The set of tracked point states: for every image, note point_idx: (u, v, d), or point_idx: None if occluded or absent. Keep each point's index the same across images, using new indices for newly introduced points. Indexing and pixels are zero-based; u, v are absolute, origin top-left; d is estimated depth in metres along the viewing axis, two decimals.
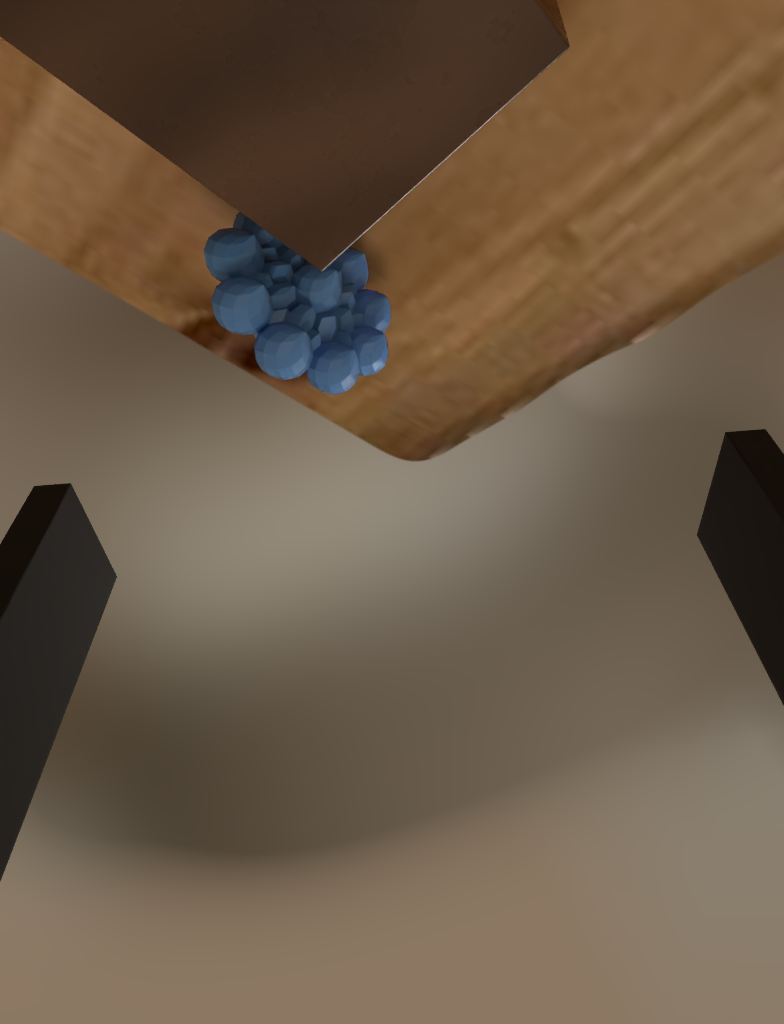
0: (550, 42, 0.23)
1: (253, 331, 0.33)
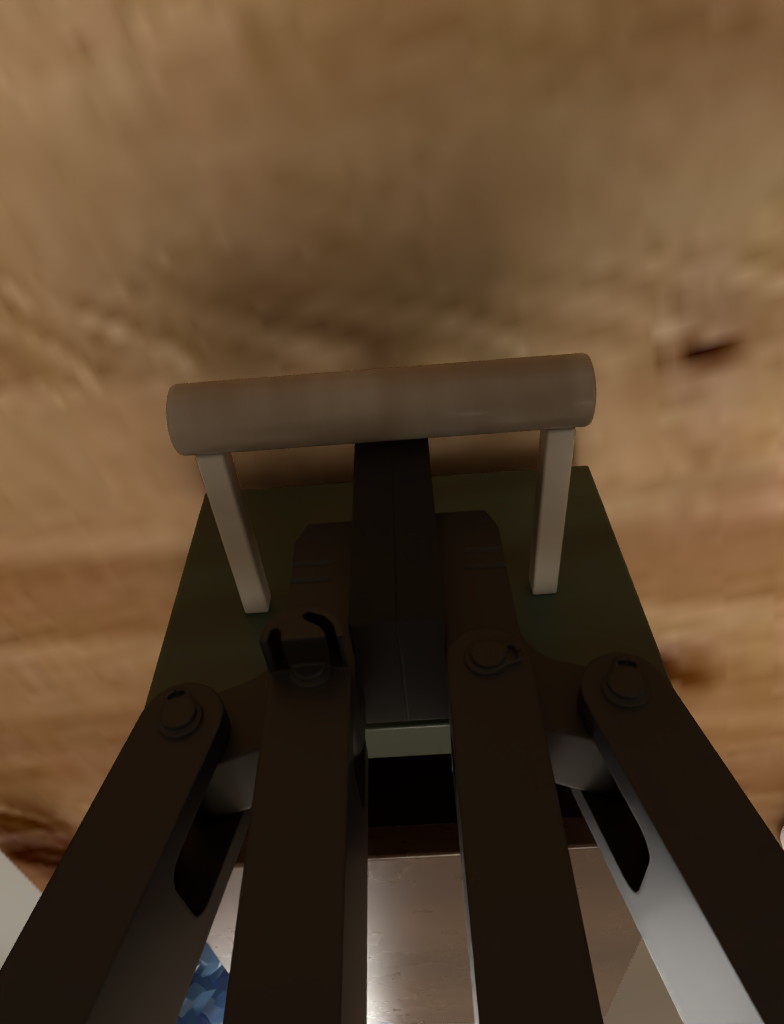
0: None
1: None
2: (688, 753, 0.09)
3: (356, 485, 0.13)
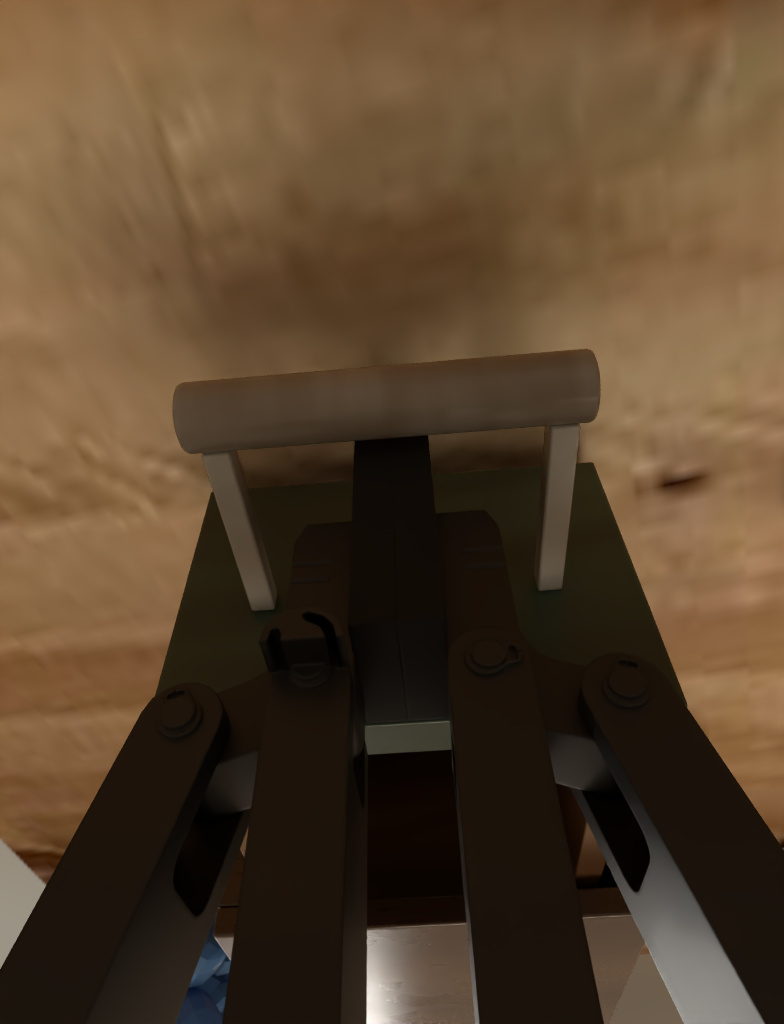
0: None
1: None
2: (688, 753, 0.09)
3: (356, 485, 0.13)
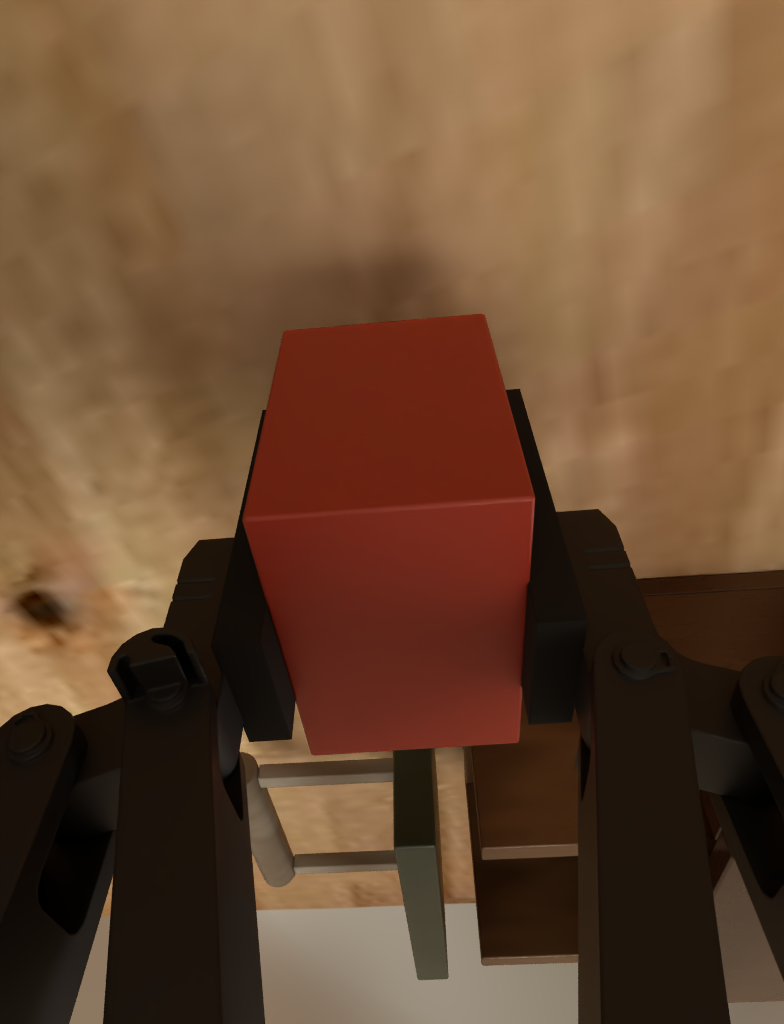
0: None
1: None
2: None
3: (245, 501, 0.13)
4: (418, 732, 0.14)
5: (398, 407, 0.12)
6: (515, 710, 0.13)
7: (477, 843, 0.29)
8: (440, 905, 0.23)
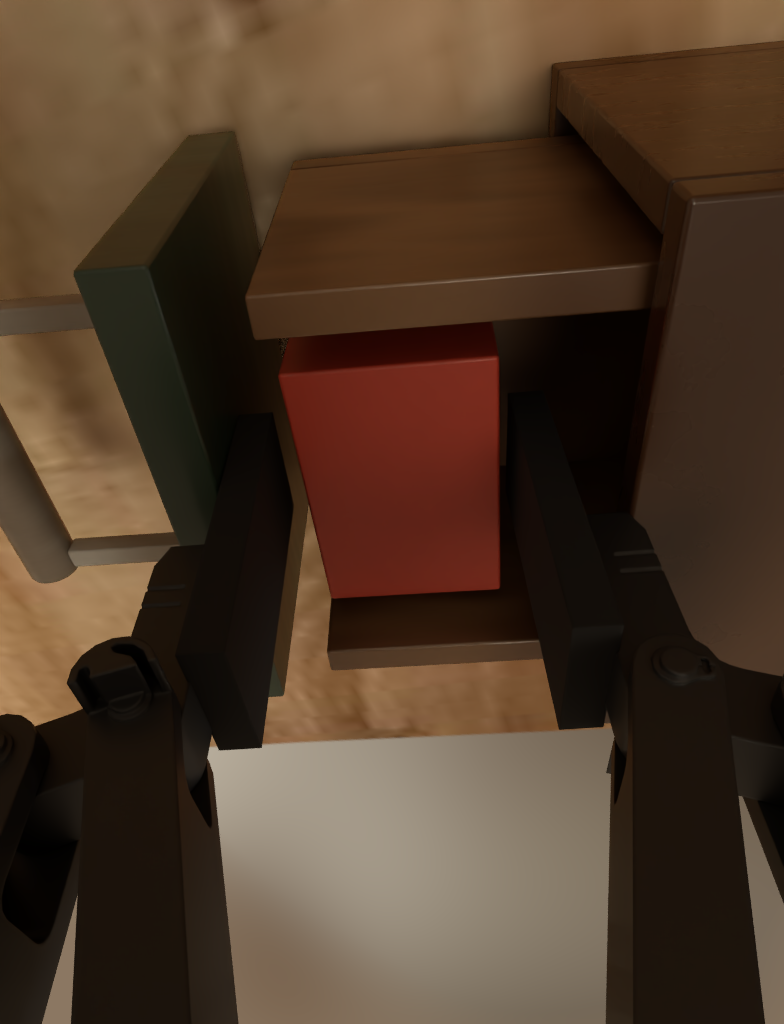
0: None
1: None
2: None
3: (217, 507, 0.13)
4: (417, 576, 0.17)
5: None
6: (495, 556, 0.16)
7: None
8: (214, 481, 0.13)
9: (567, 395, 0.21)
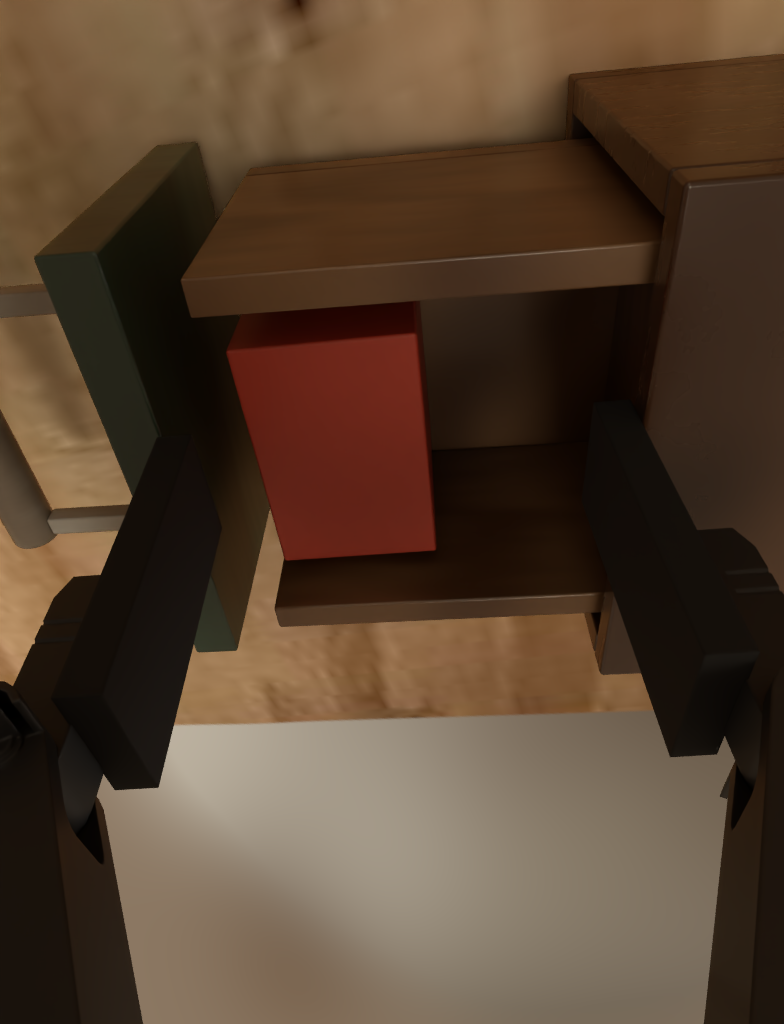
0: None
1: None
2: None
3: (119, 537, 0.13)
4: (360, 538, 0.19)
5: None
6: (429, 518, 0.18)
7: None
8: None
9: (506, 383, 0.22)
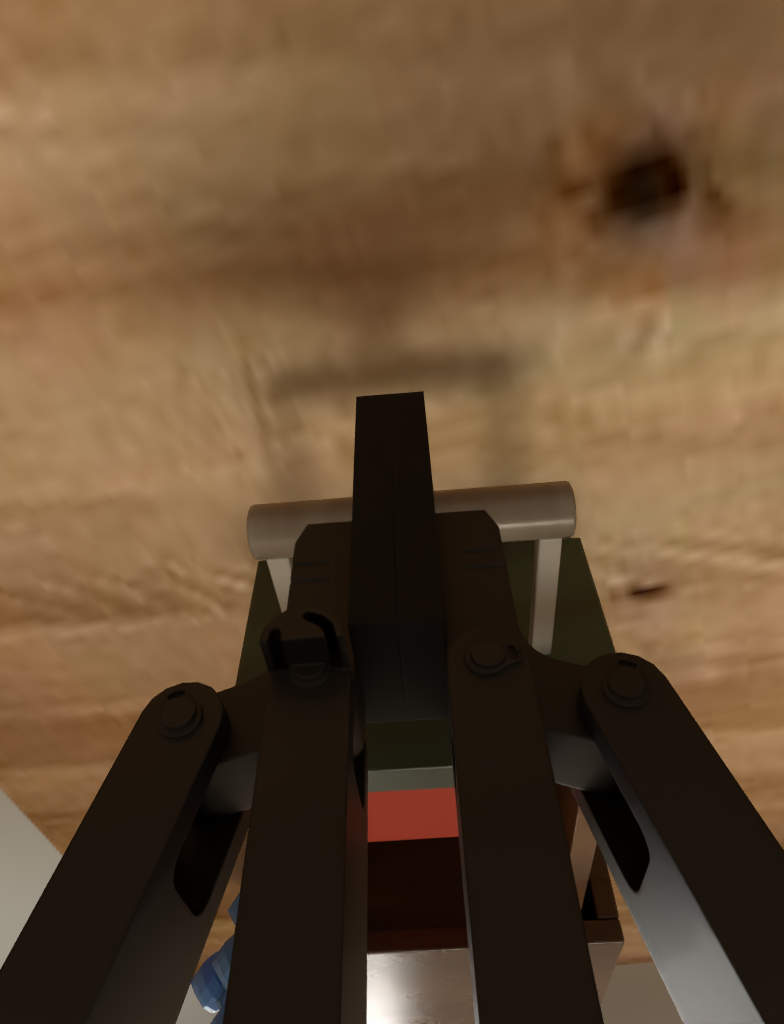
0: None
1: None
2: (688, 753, 0.09)
3: (356, 485, 0.13)
4: None
5: None
6: (376, 840, 0.24)
7: None
8: None
9: None
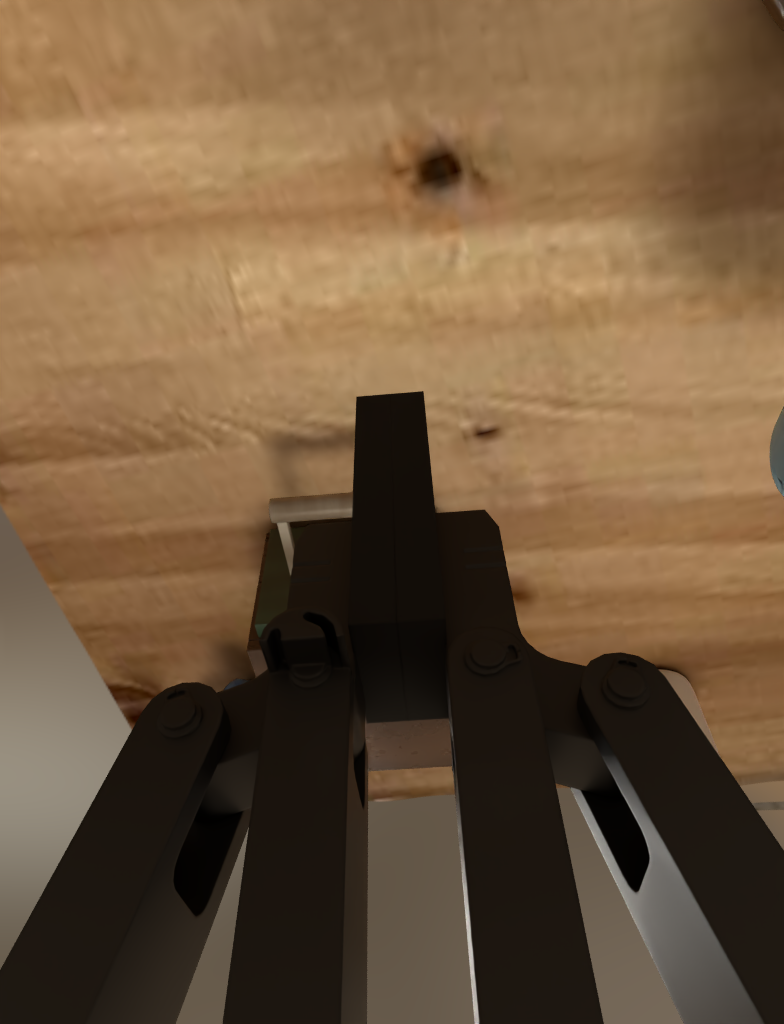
0: None
1: None
2: (688, 753, 0.09)
3: (356, 485, 0.13)
4: None
5: None
6: None
7: None
8: None
9: None
